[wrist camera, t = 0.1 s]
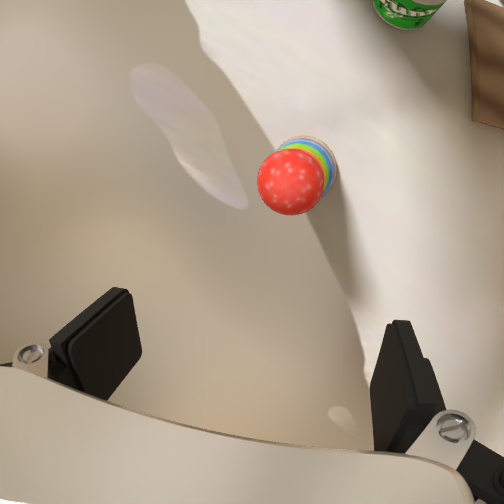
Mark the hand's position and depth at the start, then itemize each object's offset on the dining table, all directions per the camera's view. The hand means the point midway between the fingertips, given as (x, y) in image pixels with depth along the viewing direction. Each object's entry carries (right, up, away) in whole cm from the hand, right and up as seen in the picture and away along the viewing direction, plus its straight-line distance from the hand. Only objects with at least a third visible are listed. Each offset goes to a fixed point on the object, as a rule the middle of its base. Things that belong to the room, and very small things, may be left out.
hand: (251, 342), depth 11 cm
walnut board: (+37, +28, +16) cm, 49 cm away
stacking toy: (+7, +14, +28) cm, 32 cm away
